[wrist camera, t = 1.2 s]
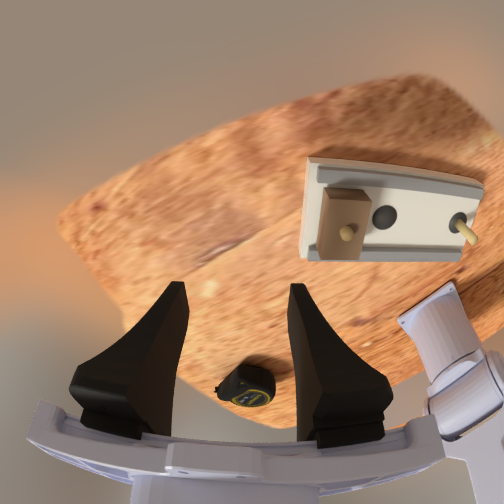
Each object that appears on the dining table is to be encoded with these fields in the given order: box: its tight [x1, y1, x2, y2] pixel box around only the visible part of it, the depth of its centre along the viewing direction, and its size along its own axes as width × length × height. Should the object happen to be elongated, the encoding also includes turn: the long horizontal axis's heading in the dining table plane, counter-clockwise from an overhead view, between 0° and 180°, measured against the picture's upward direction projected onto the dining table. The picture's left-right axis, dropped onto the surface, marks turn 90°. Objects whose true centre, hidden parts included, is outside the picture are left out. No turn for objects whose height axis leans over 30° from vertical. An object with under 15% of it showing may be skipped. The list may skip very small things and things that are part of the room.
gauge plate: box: [299, 157, 485, 262], centre depth 21 cm, size 16×8×4 cm, turn 90°
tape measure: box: [214, 365, 276, 407], centre depth 35 cm, size 7×7×4 cm
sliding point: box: [316, 187, 372, 260], centre depth 20 cm, size 3×5×2 cm, turn 0°
